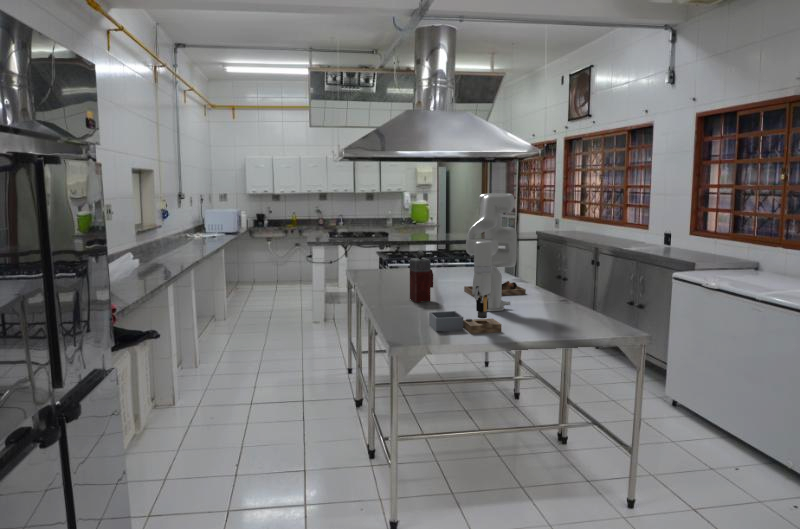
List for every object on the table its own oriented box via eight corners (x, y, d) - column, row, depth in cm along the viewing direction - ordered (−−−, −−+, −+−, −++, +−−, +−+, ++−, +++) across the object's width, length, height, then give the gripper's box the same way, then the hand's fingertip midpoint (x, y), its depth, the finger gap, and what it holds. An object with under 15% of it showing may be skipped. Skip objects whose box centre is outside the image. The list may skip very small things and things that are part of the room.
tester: (492, 326, 257) (492, 317, 257) (501, 332, 247) (501, 322, 246) (462, 327, 255) (463, 318, 254) (470, 333, 244) (470, 324, 243)
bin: (455, 323, 262) (455, 311, 261) (463, 330, 250) (463, 317, 249) (429, 325, 259) (429, 312, 259) (436, 331, 247) (436, 318, 247)
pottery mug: (509, 296, 328) (502, 283, 329) (499, 300, 336) (493, 288, 337) (523, 288, 335) (516, 276, 336) (513, 293, 343) (507, 281, 344)
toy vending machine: (434, 301, 313) (434, 250, 310) (415, 302, 309) (415, 251, 306) (427, 298, 322) (427, 249, 318) (409, 299, 318) (409, 250, 314)
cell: (485, 315, 253) (485, 294, 251) (488, 318, 249) (488, 296, 247) (476, 316, 252) (476, 294, 250) (479, 318, 248) (479, 296, 247)
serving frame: (514, 289, 347) (514, 284, 347) (525, 294, 331) (525, 289, 330) (464, 291, 341) (464, 286, 341) (473, 296, 325) (473, 291, 324)
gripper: (483, 266, 256) (482, 305, 259) (466, 271, 242) (465, 313, 245) (498, 267, 252) (498, 307, 255) (482, 273, 238) (481, 315, 241)
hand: (482, 309), depth 250 cm, fingers closed on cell, 4 cm apart
